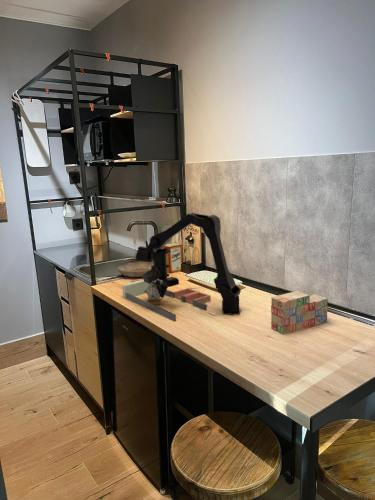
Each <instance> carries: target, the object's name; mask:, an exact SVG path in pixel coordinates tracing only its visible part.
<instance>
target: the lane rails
mask: <svg viewBox="0 0 375 500" xmlns="http://www.w3.org/2000/svg"><path fill="white" fill-rule="evenodd" d="M174 292H175V291H171V290H168V289H167V290H166V292H165V295H164V296H168V297H170V298H172V299H176V298H175V293H174ZM125 295H126V298H125V299H126V300H129V302H132V303H134V304H137V305H139V306H142V307H143V308H145V309H148V310H150V311H151V312H153V313H156V314H158V315H160V316H163V317H165V318H167V319H169V320H171V321H174V322H177V314H176V313H173V312H171V311H169V310H167V309H165V308H162V307H160V306H158V305H155V304H153V303H151V302H148V301H146V300H144V299H142V298H139V297H137V296H133V295H130V294H128V293H125ZM180 301H181V302H182V303H187V302H186V299H185V296H181V300H180ZM207 305H208V304H206V303H201V302H199V301H196V300H193V305H192V306H193V307H195V308H198V309H200V310H203V311H207V310H208V306H207Z"/></svg>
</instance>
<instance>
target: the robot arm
mask: <svg viewBox="0 0 375 500" xmlns="http://www.w3.org/2000/svg"><path fill="white" fill-rule="evenodd" d="M191 225H193V226H195V227H198V228H202V231H203V232H204V235H205V236H206V237H207V239H208V241H209V246H210V249H211V253H212V257H213V262H214V266H215V270H216V277H215V278H213V282H214V285H215V290H217V292H218V294H220V296H221V306H222V307H221V310H222V312H223V315H240V313H241V311H240V294H241V292H242V290H241V288H240V287H239V286H238V285H237V284H236V281H235V279H234V276H233V275H232V273H231V272H230V271H229V268H228V265H227V259H226V256H225V252H224V248H223V247H224V246H223V244H222V240H221V231H222V230H221V228H222V227H221V219H220V218H219V216H217V215H215V214H212V215H207V214H206V215H205V214H199V213H195V212H189V213H187V214H186V215H185V216H184V217H183V218H181V219H180V220H178V221H177V222H176V223H173V224H172V225H171V226H170V227H168V228H167V229H165V230H163V231H160V232H159V233H157V234H154V235H152V236H151V237H150V238H149V243H148V245H147V246H138V248H137V251H136V253H135V254H136V255H135V259H136V262H153V265H152V267H151V270H150V271H148V272H146V273H145V274H143V275H142V277H141V278H142V280H144V282H146V283H148V284H150V283H153V284H154V285H156V287H157V289H158V292H159V294H160V299H161V298H162V299H163V298H164V297H165V296H166V295H165V292H166V290H168V288H170V287H174V286H178V285H179V284H180V279H178V277H175V276H170V274H169V273H167V268H168V267H169V265H167V261H166V254H168V253H170V252H171V251H170V250H169V249H168V248H167V247H166V248H164V249H162V247H163V246H165V245H166V244H169V243H170V241H171V240H172V239H173V237H175V236H176V235H177V234H179V233H181V232H182V231H183V230H184V229H186V228H187V227H189V226H191Z"/></svg>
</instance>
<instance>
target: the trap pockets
mask: <svg viewBox="0 0 375 500" xmlns="http://www.w3.org/2000/svg"><path fill="white" fill-rule="evenodd" d="M173 292H174V293H175V298H174V299H177V300H180V301H181V296H185V299H186V302H185V303H187V304H190V305H192V306H193V300H196V301H199V302H201V303H204V304H206V303H207V302H211V300H212V299H211V295H210V294H207V293H205V292H201V291H199V290H195V289H193V288H189V287H187V288H183V289H180V290H176V291H173Z"/></svg>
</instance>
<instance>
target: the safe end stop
mask: <svg viewBox="0 0 375 500" xmlns="http://www.w3.org/2000/svg"><path fill="white" fill-rule="evenodd" d="M150 284H153V283H150ZM148 286H149V284H148V283H146V282H144V280H143V279H141V280H137V281H132V282H129V283H128V282H127V283H125V284H124V283H123V284H122V285H121V289H122V298H124V299H126V295H125V293H128V294H130V295H133V296H135V297H137V296H140V295H143V294H147V293H146V292H144V291H146V290H147V288H148Z"/></svg>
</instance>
